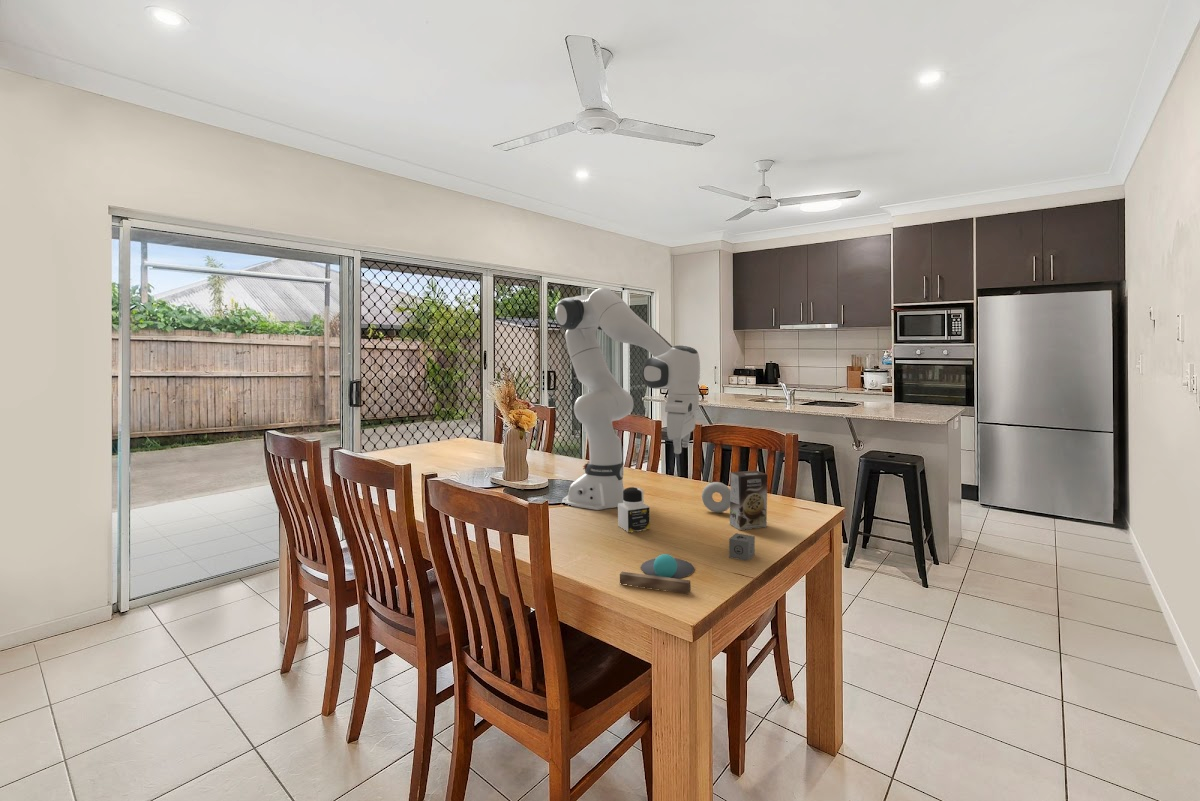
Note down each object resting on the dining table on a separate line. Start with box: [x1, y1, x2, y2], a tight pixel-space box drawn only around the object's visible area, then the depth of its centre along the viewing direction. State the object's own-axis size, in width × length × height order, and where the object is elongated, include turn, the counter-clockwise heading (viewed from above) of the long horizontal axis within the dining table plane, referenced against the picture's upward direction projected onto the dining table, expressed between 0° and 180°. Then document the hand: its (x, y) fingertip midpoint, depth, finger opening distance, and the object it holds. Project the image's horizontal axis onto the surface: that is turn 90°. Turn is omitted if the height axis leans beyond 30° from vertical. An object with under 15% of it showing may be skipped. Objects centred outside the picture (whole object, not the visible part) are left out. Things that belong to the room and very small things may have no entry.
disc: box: [640, 557, 695, 579], centre depth 142 cm, size 13×13×1 cm
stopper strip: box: [619, 571, 691, 595], centre depth 131 cm, size 16×2×2 cm, turn 70°
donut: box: [701, 481, 730, 514], centre depth 187 cm, size 10×4×10 cm, turn 64°
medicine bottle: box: [617, 486, 650, 533], centre depth 173 cm, size 7×7×12 cm
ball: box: [654, 553, 677, 578], centre depth 136 cm, size 6×6×6 cm
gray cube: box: [728, 532, 756, 562], centre depth 149 cm, size 5×5×5 cm
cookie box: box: [729, 470, 768, 531], centre depth 172 cm, size 9×6×16 cm
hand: (681, 450), depth 168 cm, fingers open, 8 cm apart
